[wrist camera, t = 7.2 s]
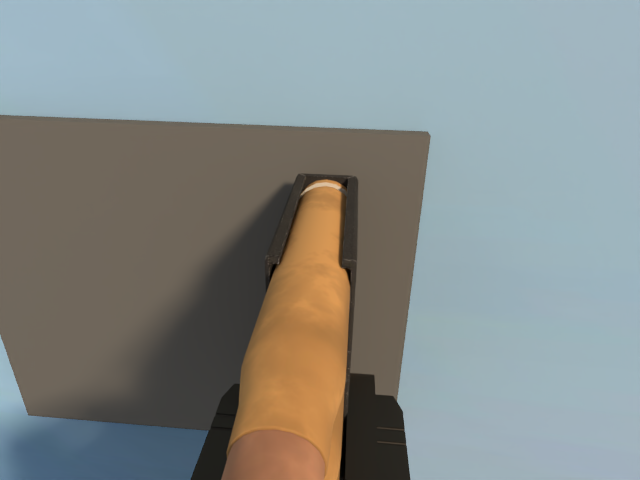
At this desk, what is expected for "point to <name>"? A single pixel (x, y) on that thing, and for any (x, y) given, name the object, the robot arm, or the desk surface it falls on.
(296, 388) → the ammunition clip
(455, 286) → the desk surface
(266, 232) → the mat
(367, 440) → the robot arm
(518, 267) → the desk surface
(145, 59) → the desk surface
